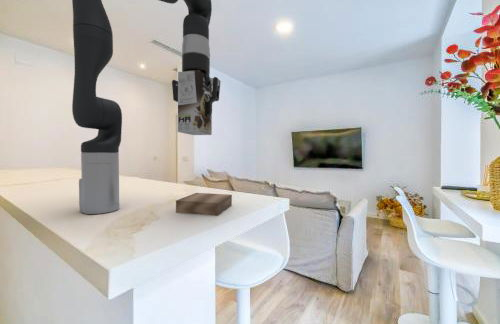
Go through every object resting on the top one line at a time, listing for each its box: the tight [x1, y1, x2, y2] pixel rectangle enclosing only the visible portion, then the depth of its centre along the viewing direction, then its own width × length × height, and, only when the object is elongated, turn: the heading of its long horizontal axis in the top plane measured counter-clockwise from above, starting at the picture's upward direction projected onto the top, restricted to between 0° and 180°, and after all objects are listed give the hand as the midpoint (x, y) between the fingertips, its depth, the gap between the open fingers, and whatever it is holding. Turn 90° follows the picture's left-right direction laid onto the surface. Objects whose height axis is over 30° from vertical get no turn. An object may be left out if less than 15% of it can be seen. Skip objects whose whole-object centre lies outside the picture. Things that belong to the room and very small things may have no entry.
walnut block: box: [175, 192, 233, 217], centre depth 70 cm, size 13×13×4 cm
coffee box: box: [177, 70, 213, 136], centre depth 62 cm, size 9×6×16 cm
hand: (196, 116), depth 62 cm, fingers closed on coffee box, 6 cm apart
